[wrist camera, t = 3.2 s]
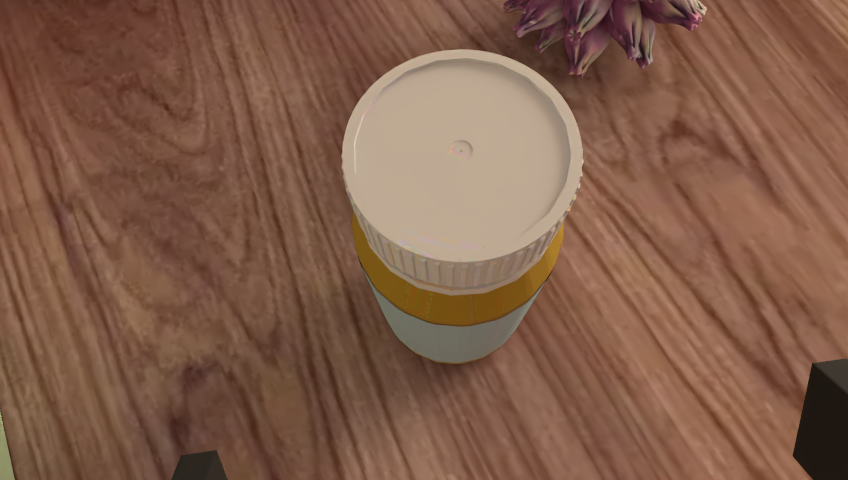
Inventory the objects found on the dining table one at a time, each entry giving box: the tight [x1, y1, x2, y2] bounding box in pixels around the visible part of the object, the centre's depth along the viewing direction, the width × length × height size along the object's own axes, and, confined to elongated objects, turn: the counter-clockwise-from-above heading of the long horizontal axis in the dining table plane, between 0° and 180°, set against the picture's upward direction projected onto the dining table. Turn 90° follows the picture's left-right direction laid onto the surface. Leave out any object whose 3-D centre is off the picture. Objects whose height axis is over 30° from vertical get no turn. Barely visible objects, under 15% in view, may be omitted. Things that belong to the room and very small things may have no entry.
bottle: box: [341, 49, 583, 364], centre depth 21 cm, size 7×7×15 cm
